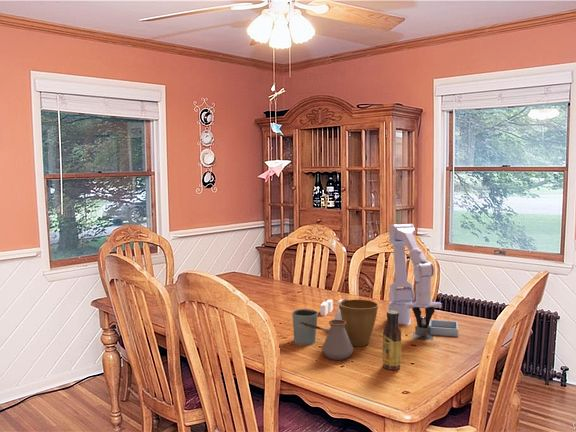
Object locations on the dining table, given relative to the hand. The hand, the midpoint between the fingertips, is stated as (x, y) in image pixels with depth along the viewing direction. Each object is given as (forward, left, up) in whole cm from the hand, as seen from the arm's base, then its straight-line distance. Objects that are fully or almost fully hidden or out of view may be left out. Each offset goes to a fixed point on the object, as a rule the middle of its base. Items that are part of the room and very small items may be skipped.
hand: (422, 325), depth 213 cm
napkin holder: (-45, +28, -6) cm, 53 cm away
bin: (+8, +9, -5) cm, 13 cm away
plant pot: (-24, -13, -5) cm, 28 cm away
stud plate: (0, 0, -5) cm, 5 cm away
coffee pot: (-33, -32, -5) cm, 46 cm away
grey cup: (-45, -16, -5) cm, 48 cm away
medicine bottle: (-33, +6, -5) cm, 34 cm away
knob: (0, 0, -4) cm, 4 cm away
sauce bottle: (-9, -35, -5) cm, 37 cm away
